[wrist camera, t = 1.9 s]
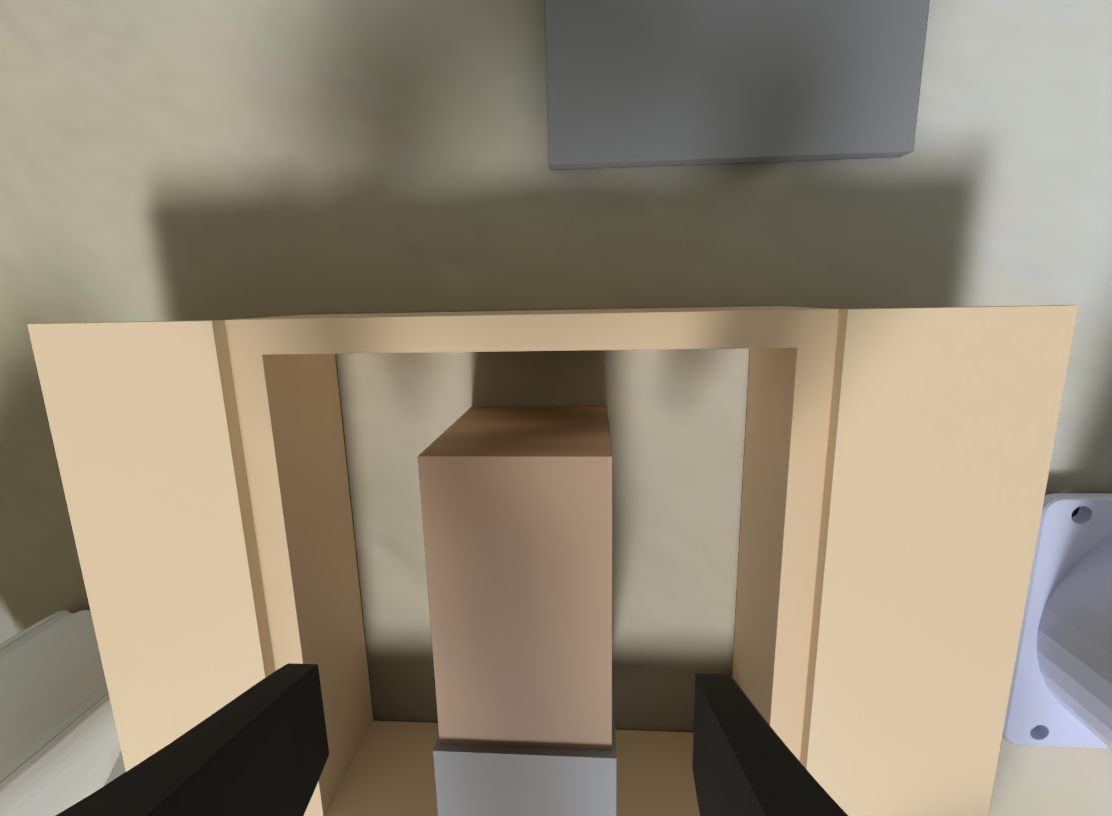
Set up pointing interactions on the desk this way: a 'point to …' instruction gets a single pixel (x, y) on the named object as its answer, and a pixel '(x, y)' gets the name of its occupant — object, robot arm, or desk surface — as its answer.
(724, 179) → the desk surface
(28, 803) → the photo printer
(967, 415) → the carton
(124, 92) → the desk surface
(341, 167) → the desk surface
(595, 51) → the mat
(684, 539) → the desk surface
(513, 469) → the walnut box
